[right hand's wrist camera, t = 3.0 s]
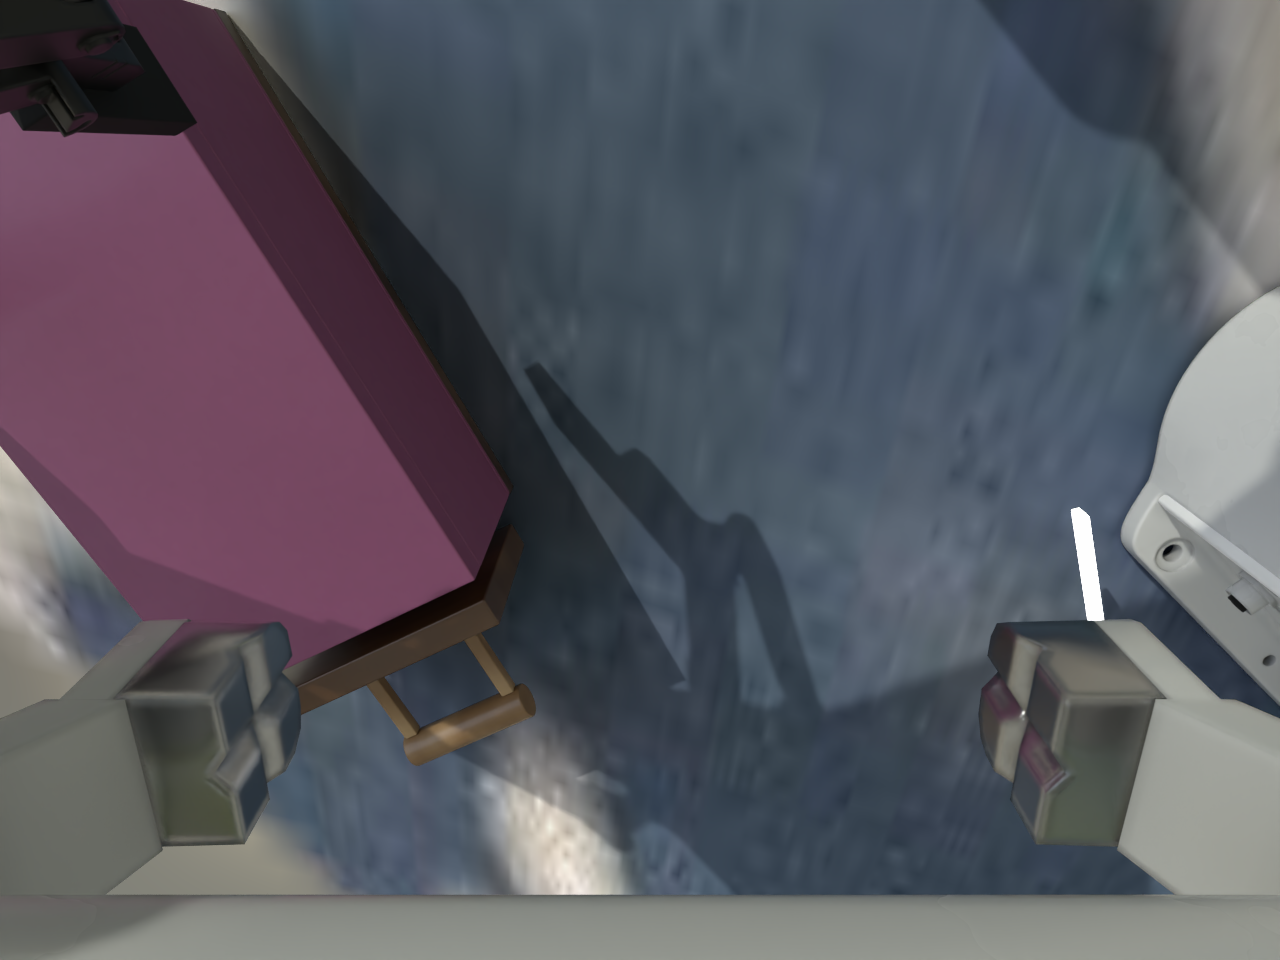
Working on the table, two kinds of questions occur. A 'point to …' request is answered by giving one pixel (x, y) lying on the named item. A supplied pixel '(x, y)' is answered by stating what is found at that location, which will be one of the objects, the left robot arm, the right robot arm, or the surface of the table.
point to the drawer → (419, 639)
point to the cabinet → (227, 366)
